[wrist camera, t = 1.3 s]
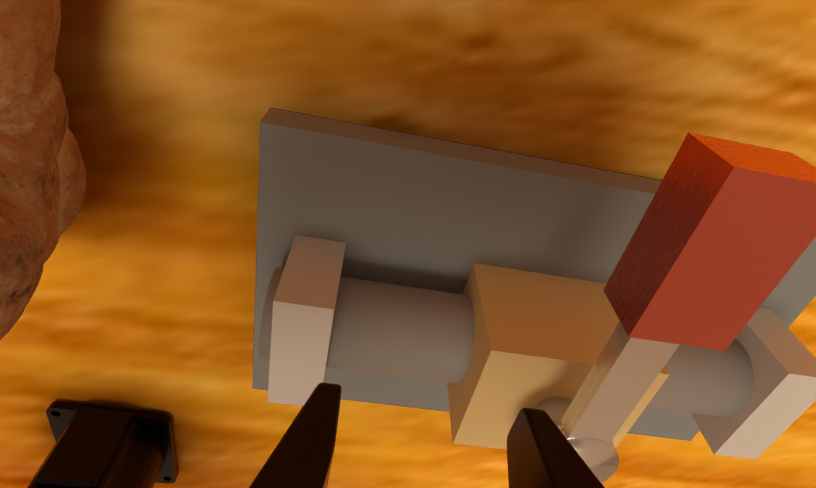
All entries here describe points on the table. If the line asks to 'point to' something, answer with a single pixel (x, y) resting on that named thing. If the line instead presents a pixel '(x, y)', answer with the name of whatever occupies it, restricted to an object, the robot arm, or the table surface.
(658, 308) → the lever
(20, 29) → the pipe
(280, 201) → the valve board
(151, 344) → the table surface
